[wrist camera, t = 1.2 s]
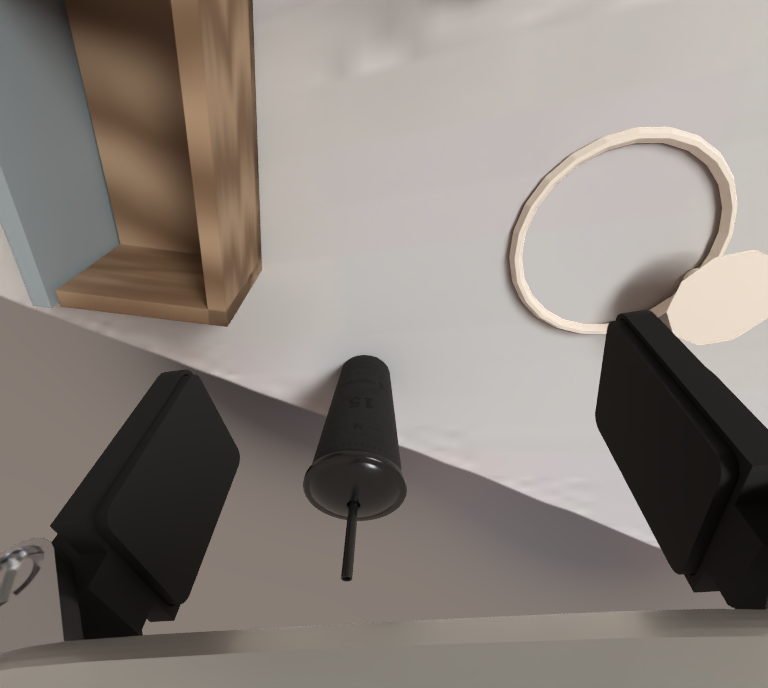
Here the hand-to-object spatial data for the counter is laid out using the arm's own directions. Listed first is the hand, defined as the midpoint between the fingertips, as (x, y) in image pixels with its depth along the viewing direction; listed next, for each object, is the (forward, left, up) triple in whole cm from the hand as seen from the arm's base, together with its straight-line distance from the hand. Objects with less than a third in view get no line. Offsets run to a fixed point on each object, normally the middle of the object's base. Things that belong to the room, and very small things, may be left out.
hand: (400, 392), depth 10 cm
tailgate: (0, -23, -26) cm, 34 cm away
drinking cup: (+20, 0, -26) cm, 33 cm away
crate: (0, -16, -26) cm, 30 cm away
